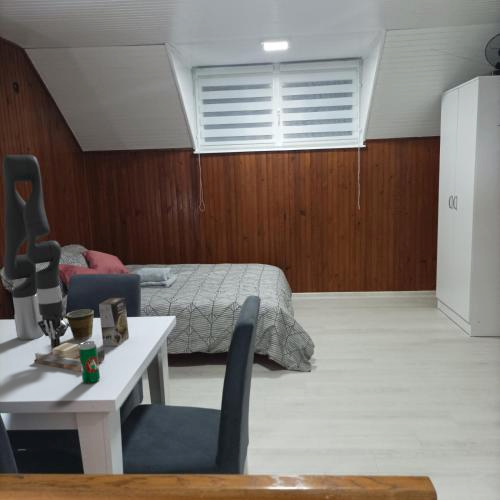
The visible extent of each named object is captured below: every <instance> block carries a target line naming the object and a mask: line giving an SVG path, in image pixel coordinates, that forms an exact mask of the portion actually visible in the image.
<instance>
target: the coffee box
mask: <svg viewBox="0 0 500 500" xmlns="http://www.w3.org/2000/svg"><path fill="white" fill-rule="evenodd" d="M98 307H99V309H98V310H99V318H100V319H99V320H100V328H101V338H102V346H105V347H108V346H109V347H119V346H120V345H122V344H123V343H124V342H125V341H127V340H128V339H129V338H130V335H129V326H128V325H129V324H128V316H127V315H128V314H127V305H126V297H110V298H108V299H107V300H104V301H102V302H100V303H99V304H98Z"/></svg>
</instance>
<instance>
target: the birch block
mask: <svg viewBox="0 0 500 500" xmlns="http://www.w3.org/2000/svg"><path fill="white" fill-rule="evenodd" d="M79 347H80V344H77V343H70V342H64V343H62V344H60V346H57V347H55V348H53V349H52V348H51V349H52V351H51V352H53V355H54V356H60V357H66V358H72V359H74V358H76V357H78V356H80V355H79Z"/></svg>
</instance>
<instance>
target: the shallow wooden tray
mask: <svg viewBox="0 0 500 500" xmlns="http://www.w3.org/2000/svg"><path fill="white" fill-rule="evenodd" d="M34 356H35V358H34V363H35V364H39V365H45V366H51V367H56V368H60V369H67V370H72V371H75V372H76V371H77V372H81V364H80V356H78V357H76V358H74V359H72V358H66V357H60V356H54V355H53V352H52V351H51V352H49V353H41V352H36V353H34ZM97 356H98V364H99V363H101V362H104V360H105V358H106V357H105V350H104V349H100V350H97Z"/></svg>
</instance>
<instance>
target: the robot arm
mask: <svg viewBox="0 0 500 500" xmlns="http://www.w3.org/2000/svg"><path fill="white" fill-rule="evenodd" d="M2 178H3V190H4V217H3V218H4V238H5V239H4V240H5V242H4V243H5V245H4V246H5V247H4V259H3V268H4V269H3V270H4V274H5V277H6V278H7V280H9V281H10V280H11V281H14V280H23V279H25V280H24V282H23V283H21V284H19V285H18V286H16V287H14V288H13V289H12V290H11V294H12V295H11V296H12V300H13V301H12V302H13V307H14V314H13V317H14V324H15V331H16V337H17V338H18V339H19V340H21V341H23V340H24V341H26V340H27V341H28V340H34V339H38V338H40V337H42V336H43V335H44V336H45V337H48V338H49V339H50V346H51V349H53V348H55V347H57V346H60V345H61V337H64V336H65V334H66V332H67V330H68V328H69V323H68V322H66V321H65V320H64V316H63V315H62V314H63V312H64V305H63V304H64V303H63V296H62V290H61V286H60V285H61V284H60V278H59V269H60V268H59V267H60V261H61V257H62V246H61V245H60V243H59V242H58V241H56V240H46V241H45V240H44V241H38V242H37V240H39V239H40V238H43V237H46V236H48V235H49V234H50V232H51V229H50V225H49V221H48V217H47V213H46V210H45V203H44V193H43V192H44V191H43V182H42V177H41V169H40V164H39V161H38V159H37V157H36V156H34V155H30V154H8V155H5V156H4V157H3V159H2ZM16 183H30V184H31V189H30V194H29V196H28V197H27V200H26V201H25V200H24V199H23V197H21V195H20V194H19V192H18V190H17V188H16ZM26 240H27V242H26V254H19V255H18V252H19V250H20V248H21V246H22V245H23V244H24V243H25V241H26ZM45 263H48V265H47V266H46V267H44V268H42V269H39V270H37V265H38V264H45ZM62 316H63V317H62ZM64 321H65V322H66V323H65V322H64Z"/></svg>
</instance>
